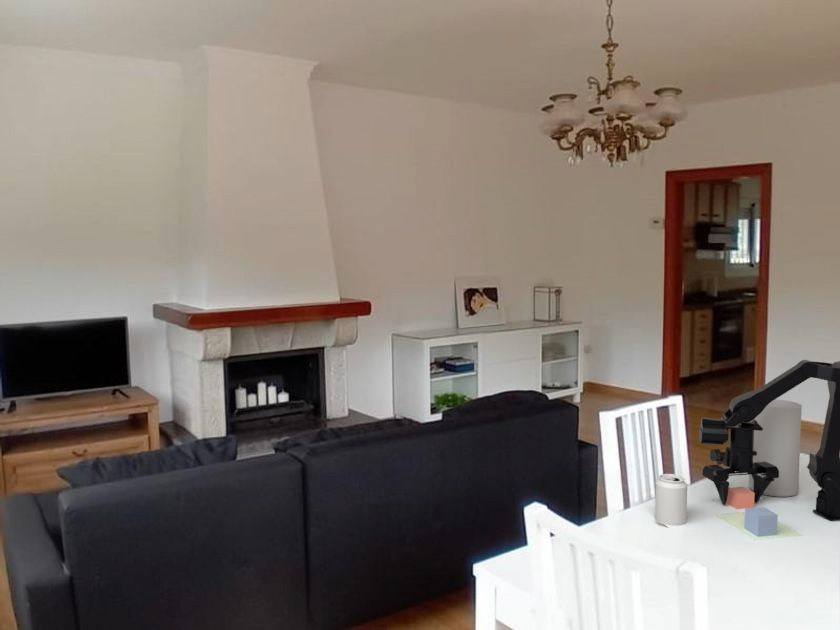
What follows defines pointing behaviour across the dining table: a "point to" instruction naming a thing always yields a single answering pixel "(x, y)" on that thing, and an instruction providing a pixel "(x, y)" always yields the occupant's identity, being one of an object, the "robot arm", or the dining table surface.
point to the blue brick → (761, 521)
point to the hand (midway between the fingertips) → (739, 503)
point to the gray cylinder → (779, 445)
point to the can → (671, 500)
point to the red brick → (740, 498)
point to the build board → (739, 523)
